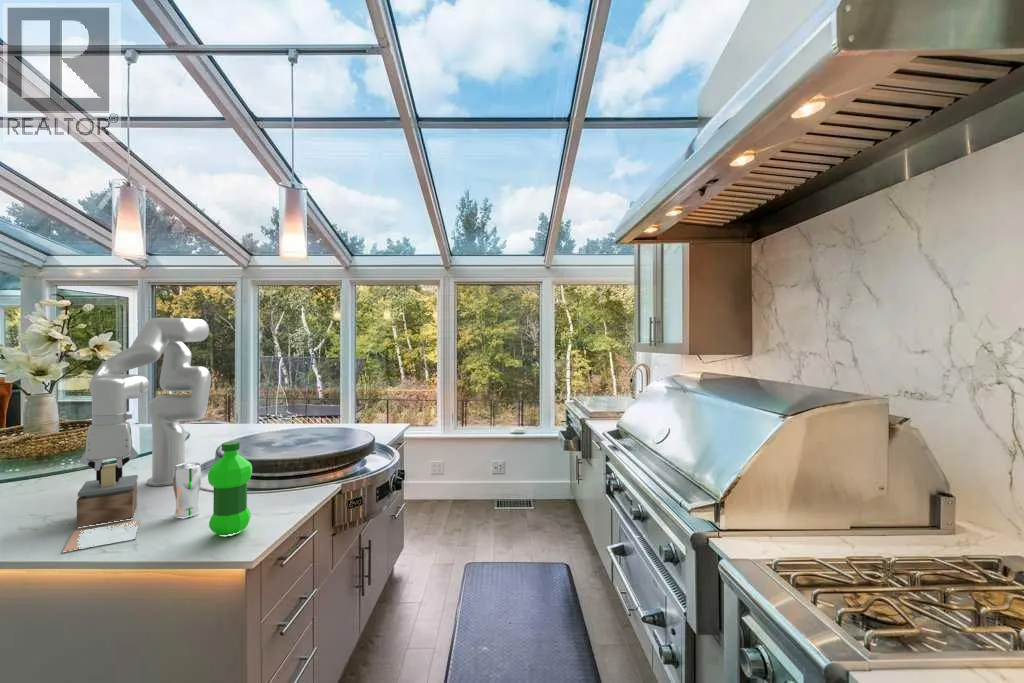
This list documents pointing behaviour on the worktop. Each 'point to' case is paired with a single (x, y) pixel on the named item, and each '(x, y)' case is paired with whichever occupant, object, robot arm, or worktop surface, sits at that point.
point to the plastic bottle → (230, 491)
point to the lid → (108, 484)
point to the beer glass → (186, 488)
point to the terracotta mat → (73, 540)
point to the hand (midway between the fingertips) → (109, 480)
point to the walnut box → (106, 508)
